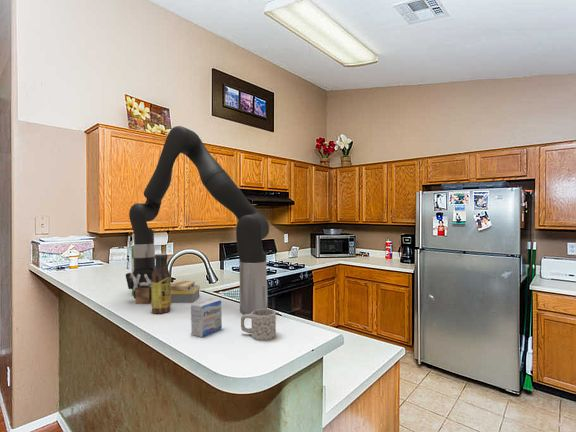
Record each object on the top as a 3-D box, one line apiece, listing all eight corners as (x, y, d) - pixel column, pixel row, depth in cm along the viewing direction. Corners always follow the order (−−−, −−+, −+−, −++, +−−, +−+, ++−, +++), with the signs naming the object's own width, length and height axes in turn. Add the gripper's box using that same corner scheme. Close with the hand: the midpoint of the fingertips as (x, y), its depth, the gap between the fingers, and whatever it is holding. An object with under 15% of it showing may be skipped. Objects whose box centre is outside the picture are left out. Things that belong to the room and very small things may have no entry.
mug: (278, 332, 97) (278, 309, 97) (272, 341, 90) (271, 316, 90) (245, 330, 99) (244, 307, 99) (236, 338, 93) (236, 314, 92)
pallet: (194, 284, 139) (194, 280, 139) (187, 290, 129) (186, 286, 129) (175, 285, 139) (175, 280, 139) (166, 290, 129) (165, 286, 129)
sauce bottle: (164, 314, 114) (163, 255, 114) (147, 313, 116) (146, 255, 115) (174, 309, 121) (173, 253, 120) (158, 308, 122) (157, 252, 122)
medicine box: (202, 337, 93) (201, 306, 93) (190, 334, 96) (190, 304, 96) (222, 329, 100) (221, 299, 100) (211, 326, 102) (210, 297, 102)
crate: (154, 300, 133) (154, 285, 133) (148, 304, 128) (148, 288, 128) (141, 300, 133) (141, 285, 133) (135, 304, 128) (135, 288, 128)
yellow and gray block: (199, 296, 139) (199, 285, 139) (193, 302, 129) (193, 290, 129) (170, 296, 139) (169, 285, 139) (161, 302, 130) (161, 290, 130)
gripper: (166, 254, 134) (167, 297, 134) (130, 254, 134) (131, 297, 134) (159, 256, 126) (159, 302, 127) (120, 257, 127) (121, 302, 127)
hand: (145, 299), depth 130 cm, fingers open, 5 cm apart
